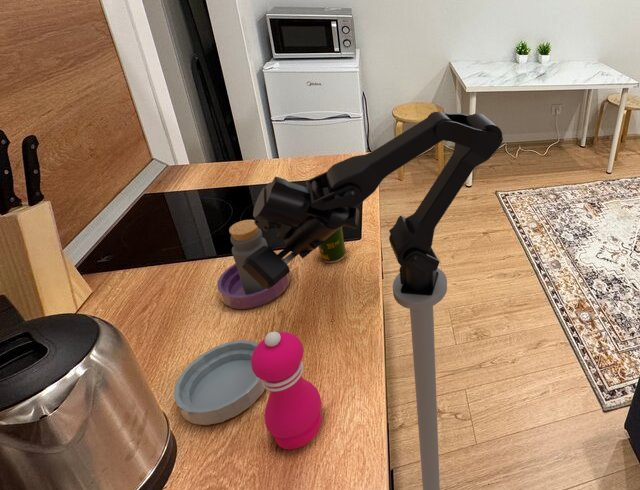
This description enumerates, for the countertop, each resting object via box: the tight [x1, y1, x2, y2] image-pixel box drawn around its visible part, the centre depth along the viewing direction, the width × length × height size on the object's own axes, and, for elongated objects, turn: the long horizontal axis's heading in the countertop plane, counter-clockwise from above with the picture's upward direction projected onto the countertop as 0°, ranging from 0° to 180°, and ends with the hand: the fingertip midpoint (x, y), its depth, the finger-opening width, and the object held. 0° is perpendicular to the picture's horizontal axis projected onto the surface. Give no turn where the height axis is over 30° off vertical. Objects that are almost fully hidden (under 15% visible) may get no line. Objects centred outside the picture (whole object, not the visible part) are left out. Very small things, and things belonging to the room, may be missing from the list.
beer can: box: [317, 226, 347, 264], centre depth 92 cm, size 5×5×12 cm
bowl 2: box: [173, 339, 266, 426], centre depth 66 cm, size 12×12×4 cm
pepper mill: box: [251, 331, 322, 451], centre depth 57 cm, size 7×7×20 cm
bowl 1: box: [216, 257, 291, 310], centre depth 84 cm, size 12×12×4 cm
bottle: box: [228, 219, 269, 294], centre depth 81 cm, size 6×6×15 cm
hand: (278, 258), depth 79 cm, fingers open, 9 cm apart
